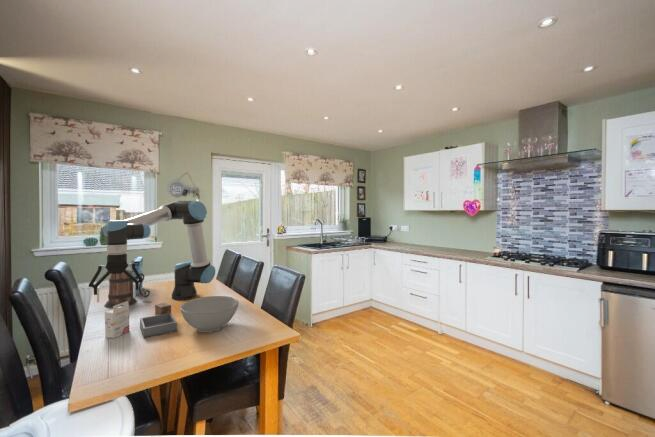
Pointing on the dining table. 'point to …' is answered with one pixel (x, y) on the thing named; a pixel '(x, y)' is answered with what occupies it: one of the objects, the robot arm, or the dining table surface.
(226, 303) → the decorative bowl
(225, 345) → the dining table surface
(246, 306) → the dining table surface
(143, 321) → the bin
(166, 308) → the walnut block
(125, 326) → the ink cartridge box
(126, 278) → the tankard
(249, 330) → the dining table surface
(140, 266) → the gum box
